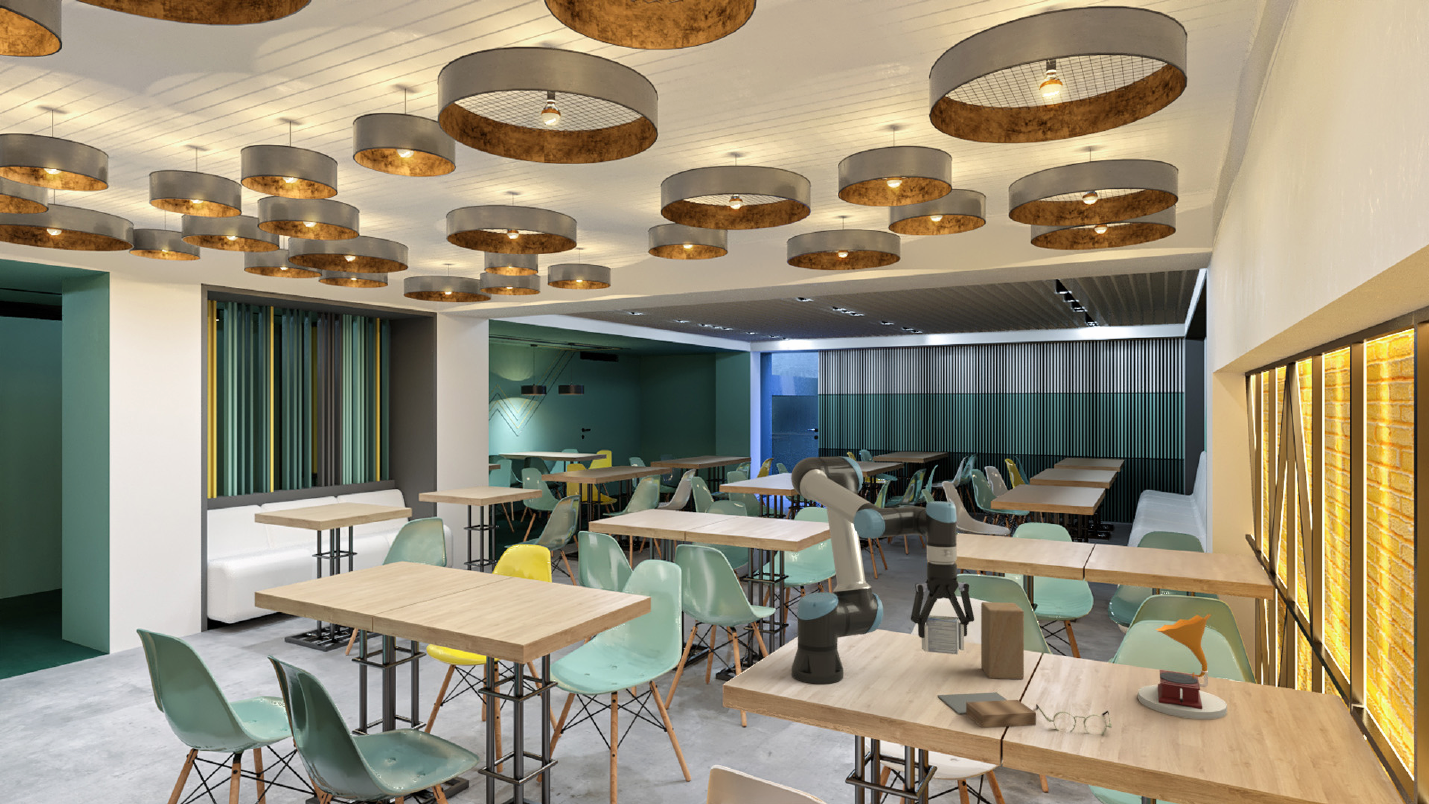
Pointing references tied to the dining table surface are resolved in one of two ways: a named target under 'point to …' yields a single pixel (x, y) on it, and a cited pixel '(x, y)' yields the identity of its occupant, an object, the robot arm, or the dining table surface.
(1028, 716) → the brown wooden flat block
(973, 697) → the mat
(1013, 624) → the wooden block
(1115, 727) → the dining table surface
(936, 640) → the medicine box
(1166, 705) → the gramophone
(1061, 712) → the round eyeglasses
